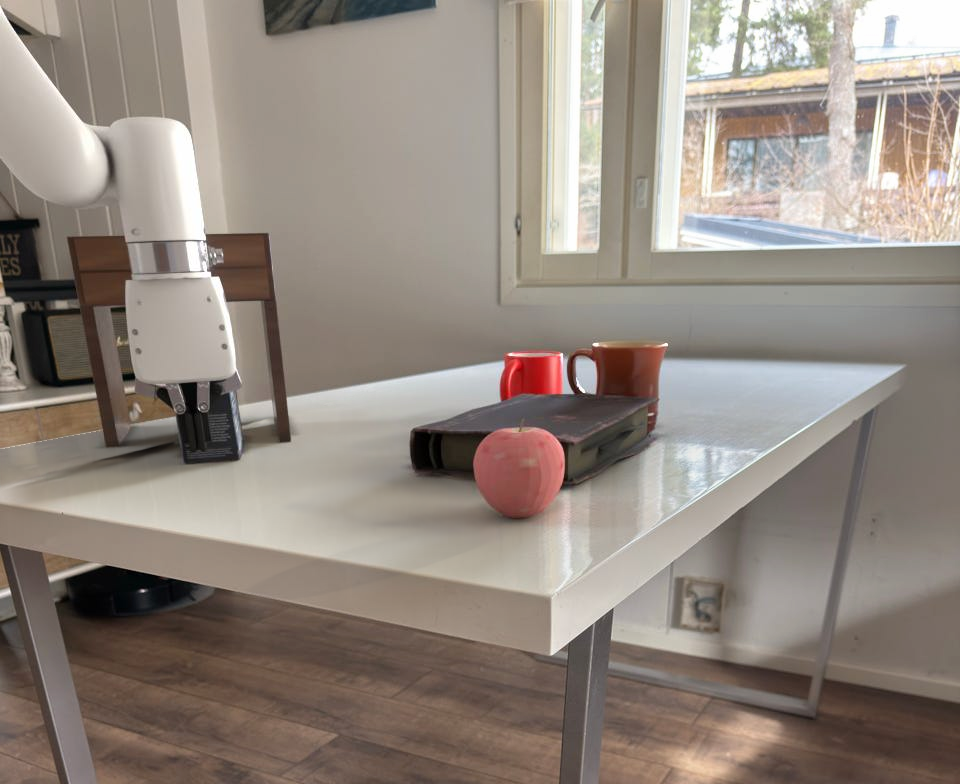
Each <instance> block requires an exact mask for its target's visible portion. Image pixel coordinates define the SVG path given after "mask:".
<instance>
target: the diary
mask: <svg viewBox="0 0 960 784" xmlns="http://www.w3.org/2000/svg"><path fill="white" fill-rule="evenodd" d="M658 401H660V397H659V398H647V397H632V396H617V395H597V394H595V393H591V394H574V393H562V394H539V395H536V394H520V395H517V396H515V397H512V398H510V399H507V400H504V401H502V402H501V401H500V402H497V403H492V404H488V405H485V406H481V407H476V408H472V409H469V410H467V411H465V412H462V413H460V414H456V415H454V416H452V417H449V418H447V419H443V420H439V421H435V422H431V423H427V424H423V425H419V426H416V427H413V428H412V429H411V430H410V435H409V444H408V445H409V457H410V458H409V459H410V463H411V467H412V470H413V472H414V473H415V474H422V475H423V474H424V475H434V476H444V477H455V478H465V479H475V474H474V467H473V463H474V457H475V454H476V450H477V448H478V446H479V445H480V443H481V442H482V441H483V440H484V438H486V437H487V436H488V435H489V434H491V433H493V432H494V431H497V430H500V429H505V428H520V425H521V422H522V420H523V418H524V419H525V420H524V423H523V427H534V428H540V429H543V430H546V431H547V432H549V433H551V434H552V435H553V436H554V437H555V438H556V439H557V440H558V441H559V443H560V444H561V446H562V448H563V451H564V458H565V469H564V478H563V482H562V485H561V486H571V485H577V484H578V483H581V482H583V481H585V480H587V479H590V478H592V477H595V476H596V475H598V474H600V473H602V472H603V471H604V470H605V469H607V468H609V467H610V466H611V465H613V464H614V463H615V462H617V461H618V460H621V459H624V458H628V457H631V456H634V455H637V454H639V453H641V452H642V451H644V450H645V449H646V448H647V447H648V446H650V445H651V444H653V443H654V442H655V441H657V440H658V437H657V436H651V435H650V436H649V435H648V434H647V420H648V406H649V405H651V404H653V403H656V402H658Z"/></svg>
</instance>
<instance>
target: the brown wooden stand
mask: <svg viewBox="0 0 960 784" xmlns="http://www.w3.org/2000/svg"><path fill="white" fill-rule="evenodd" d="M205 237H206V241H203V242H206V243H207V246H210V248H213V247H214V249H222V251H223V259H224V263H217V265H213V267H210V270H208V272H211V277H219V279H220V282H221V285H222V288H223V291H224V295H225V299H226V303H239V302H242V303H243V302H260V307H261V317H262V327H263V332H264V333H263V334H264V342H265V343H264V344H265V351H266V352H265V353H266V361H267V370H268V379H269V388H270V397H271V404H272V414H273V424H274V427H275V430H276V435H277V438H278V443H289V442H292V437H291V426H290V417H289V408H288V397H287V390H286V379H285V370H284V369H285V368H284V360H283V351H282V341H281V333H280V332H281V331H280V323H279V322H280V321H279V313H278V305H277V294H276V284H275V275H274V265H273V258H272V247H271V239H270V233H269V232H246V233H245V232H242V233H238V232H237V233H205ZM66 242H67V246H68V251H69V257H70V262H71V268H72V273H73V279H74V284H75V288H76V295H77V300H78V303H79V304H78V305H79V310H80V315H81V321H82V327H83V333H84V336H85V337H84V338H85V342H86V347H87V353H88V360H89V364H90V370H91V375H92V380H93V385H94V390H95V395H96V401H97V406H98V412H99V417H100V423H101V426H102V432H103V433H102V434H103V438H104V445H105V448H117V447H120V445H121V444H122V442H123V440H124V439H125V437H126V436H127V434H128V432H130V429H131V428H132V425H131V419H130V412H129V408H128V402H127V401H128V400H127V396H126V391H125V390H126V389H125V386H124V385H125V384H124V379H123V373H122V369H121V368H122V367H121V362H120V357H119V351H118V346H117V340H116V334H115V328H114V322H113V317H112V316H113V315H112V311H111V307H119V306H120V307H121V306H122V307H123V306H124V307H126V302H125V285H126V280H132V274H131V270H130V264H129V258H128V252H127V247H126V244H127V243H126V240H125V235H124V234H123V235H79V236H77V235H75V236H74V235H73V236H66Z"/></svg>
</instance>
